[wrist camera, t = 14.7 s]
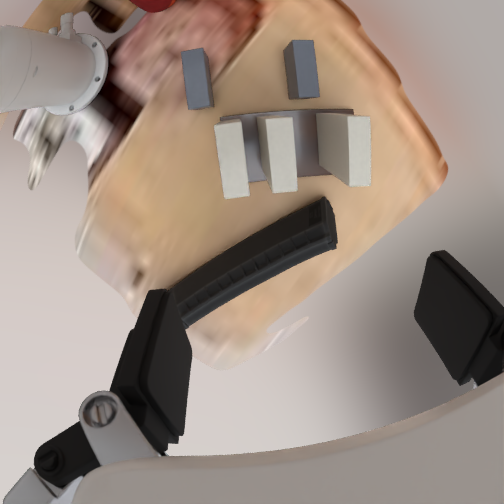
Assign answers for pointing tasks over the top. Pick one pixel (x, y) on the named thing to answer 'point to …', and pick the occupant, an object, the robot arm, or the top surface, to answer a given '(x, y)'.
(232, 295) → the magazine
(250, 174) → the shelf board
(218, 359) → the top surface
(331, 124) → the white book
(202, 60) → the grey book
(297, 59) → the grey book
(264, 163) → the white book
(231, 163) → the white book
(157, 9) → the paper cup
